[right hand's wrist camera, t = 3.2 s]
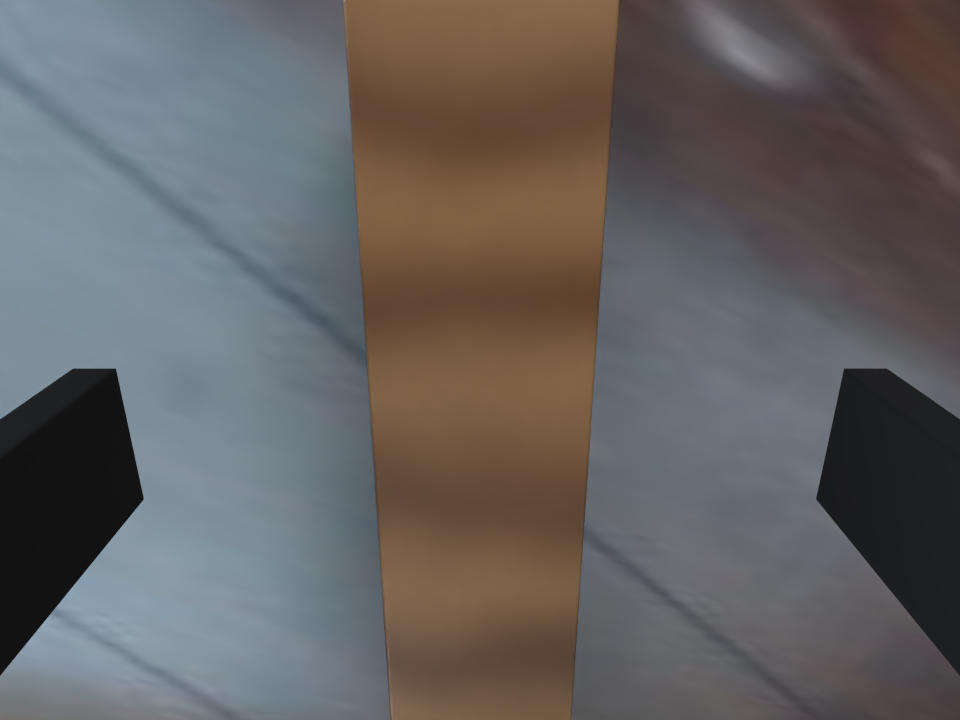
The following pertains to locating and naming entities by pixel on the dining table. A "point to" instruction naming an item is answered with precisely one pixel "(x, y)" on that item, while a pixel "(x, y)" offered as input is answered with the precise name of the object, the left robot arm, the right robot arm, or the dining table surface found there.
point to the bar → (481, 334)
